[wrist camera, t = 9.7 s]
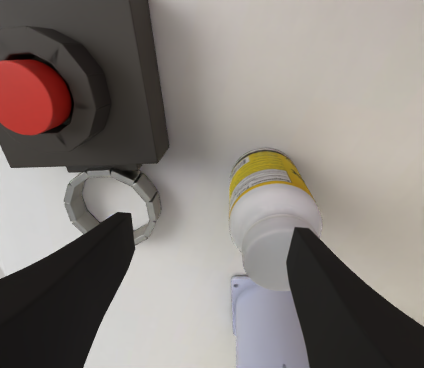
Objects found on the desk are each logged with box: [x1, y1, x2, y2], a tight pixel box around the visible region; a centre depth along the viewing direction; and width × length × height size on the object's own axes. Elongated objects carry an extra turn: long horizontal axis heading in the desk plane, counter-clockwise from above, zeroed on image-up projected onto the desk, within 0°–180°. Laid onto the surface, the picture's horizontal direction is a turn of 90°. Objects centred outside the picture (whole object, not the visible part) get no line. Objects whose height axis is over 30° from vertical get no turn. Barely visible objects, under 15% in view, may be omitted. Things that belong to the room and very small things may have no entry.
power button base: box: [0, 0, 169, 168], centre depth 16 cm, size 10×11×6 cm
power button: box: [0, 60, 72, 135], centre depth 13 cm, size 4×4×2 cm
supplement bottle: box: [229, 148, 322, 291], centre depth 17 cm, size 5×5×10 cm
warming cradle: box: [64, 164, 161, 245], centre depth 22 cm, size 9×8×2 cm
